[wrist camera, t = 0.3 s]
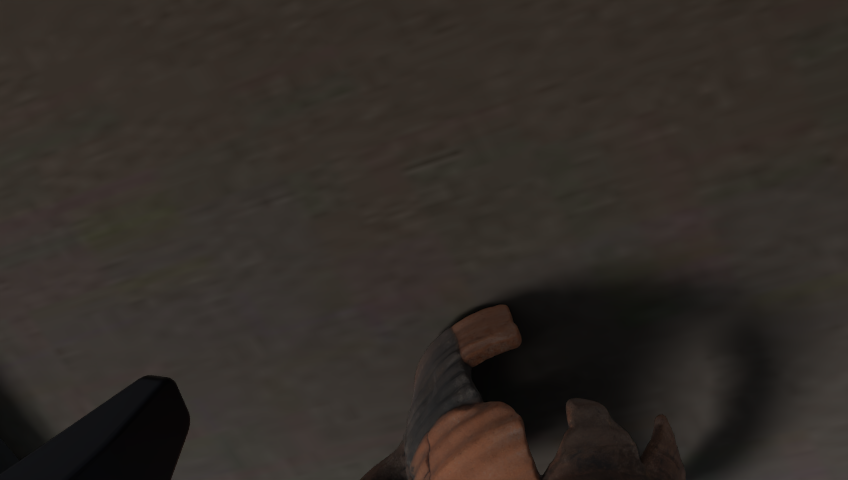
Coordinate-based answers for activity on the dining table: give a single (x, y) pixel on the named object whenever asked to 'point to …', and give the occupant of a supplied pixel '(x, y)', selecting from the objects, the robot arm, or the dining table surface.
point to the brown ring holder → (508, 423)
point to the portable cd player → (6, 457)
